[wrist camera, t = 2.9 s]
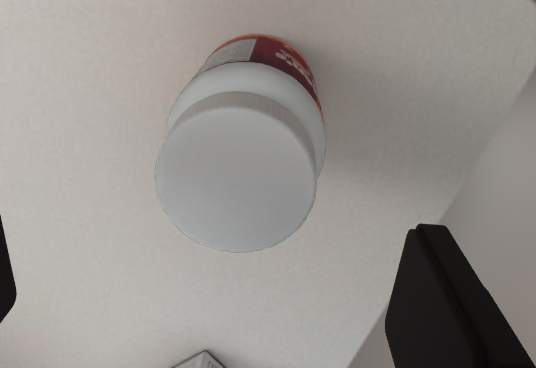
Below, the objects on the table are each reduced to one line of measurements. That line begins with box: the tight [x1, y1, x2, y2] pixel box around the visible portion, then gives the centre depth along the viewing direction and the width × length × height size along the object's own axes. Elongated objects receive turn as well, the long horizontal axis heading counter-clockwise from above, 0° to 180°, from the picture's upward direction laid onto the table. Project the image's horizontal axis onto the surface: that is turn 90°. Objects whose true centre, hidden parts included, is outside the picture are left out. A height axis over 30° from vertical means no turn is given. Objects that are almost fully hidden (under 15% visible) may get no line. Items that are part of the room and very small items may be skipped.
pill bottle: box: [155, 34, 326, 253], centre depth 19 cm, size 6×6×11 cm
